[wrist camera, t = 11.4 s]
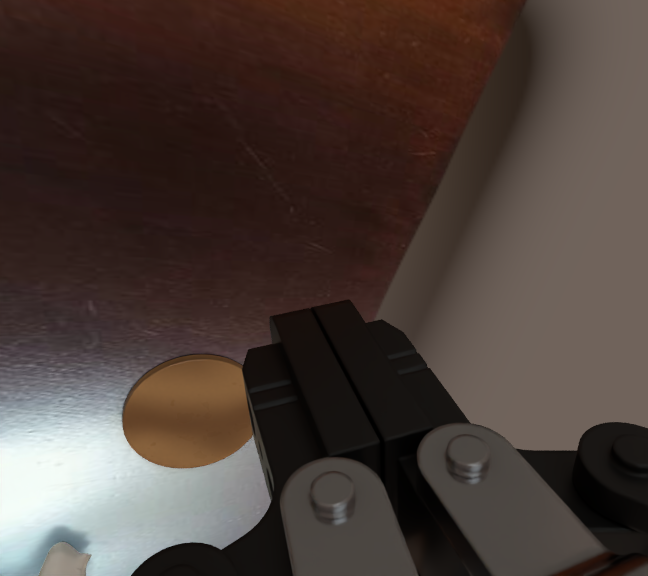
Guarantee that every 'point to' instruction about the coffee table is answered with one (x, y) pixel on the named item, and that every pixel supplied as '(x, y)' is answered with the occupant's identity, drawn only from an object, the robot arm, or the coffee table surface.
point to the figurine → (64, 561)
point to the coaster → (188, 412)
